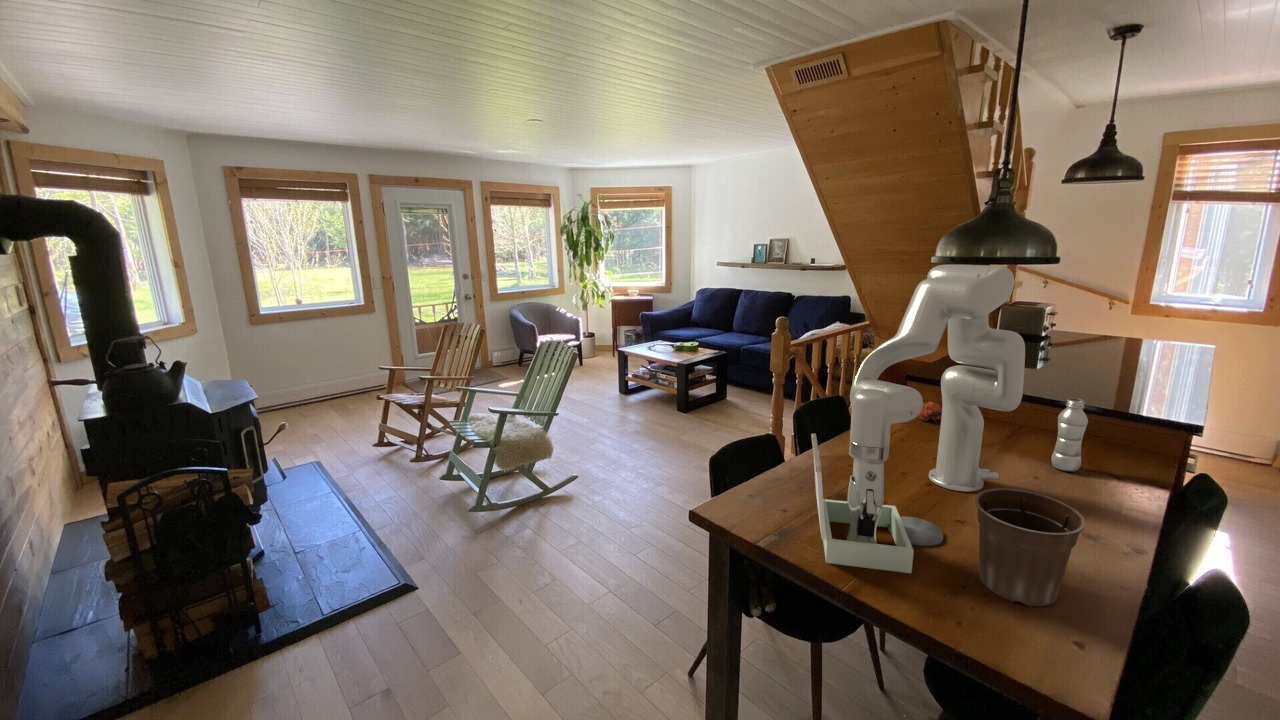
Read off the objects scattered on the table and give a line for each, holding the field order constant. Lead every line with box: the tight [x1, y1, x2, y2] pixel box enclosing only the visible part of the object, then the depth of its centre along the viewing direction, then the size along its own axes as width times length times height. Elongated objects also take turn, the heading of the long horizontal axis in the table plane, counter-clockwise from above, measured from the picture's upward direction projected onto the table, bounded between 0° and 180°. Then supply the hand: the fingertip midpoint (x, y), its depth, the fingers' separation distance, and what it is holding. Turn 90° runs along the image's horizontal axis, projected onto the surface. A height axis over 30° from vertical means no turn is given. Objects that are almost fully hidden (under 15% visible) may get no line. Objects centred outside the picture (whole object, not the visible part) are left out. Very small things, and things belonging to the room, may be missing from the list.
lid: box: [810, 433, 826, 541], centre depth 115 cm, size 16×18×1 cm
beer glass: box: [846, 474, 882, 544], centre depth 113 cm, size 7×7×15 cm
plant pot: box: [974, 488, 1086, 607], centre depth 98 cm, size 16×16×16 cm
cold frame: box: [822, 498, 915, 574], centre depth 115 cm, size 16×18×5 cm
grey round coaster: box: [887, 516, 944, 547], centre depth 119 cm, size 11×11×1 cm
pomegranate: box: [917, 400, 942, 425], centre depth 186 cm, size 7×7×10 cm
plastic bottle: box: [1051, 397, 1089, 472], centre depth 145 cm, size 6×7×20 cm
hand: (862, 526), depth 114 cm, fingers closed on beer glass, 6 cm apart
